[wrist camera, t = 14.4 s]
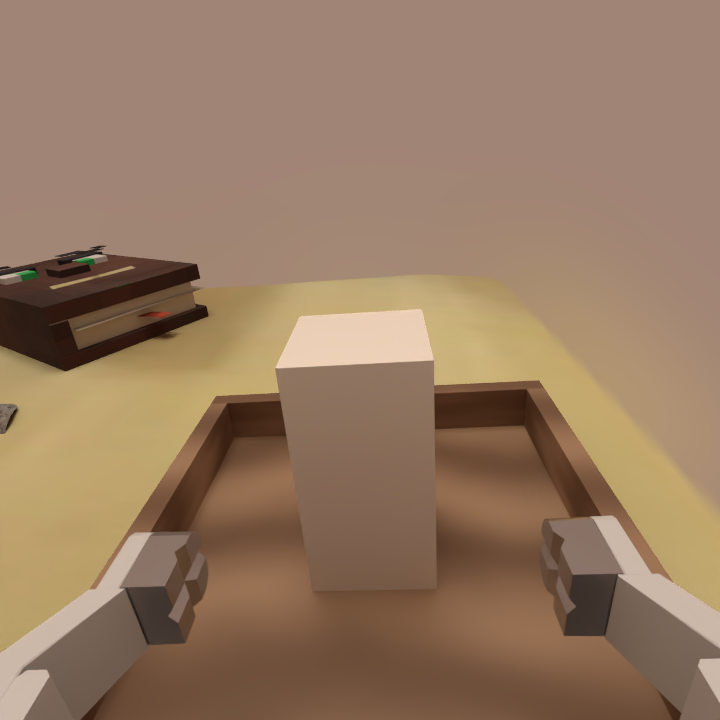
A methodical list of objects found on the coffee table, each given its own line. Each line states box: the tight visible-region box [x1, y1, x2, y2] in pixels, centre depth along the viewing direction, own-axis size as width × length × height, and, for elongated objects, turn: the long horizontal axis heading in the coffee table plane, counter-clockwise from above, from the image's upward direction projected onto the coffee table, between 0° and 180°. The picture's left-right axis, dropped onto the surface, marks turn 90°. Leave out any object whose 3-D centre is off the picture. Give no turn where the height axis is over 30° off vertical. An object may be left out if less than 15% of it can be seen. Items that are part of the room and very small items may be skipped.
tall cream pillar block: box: [275, 309, 437, 591], centre depth 19 cm, size 5×5×10 cm
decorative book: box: [0, 246, 208, 371], centre depth 57 cm, size 19×8×30 cm
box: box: [80, 381, 682, 720], centre depth 21 cm, size 20×20×4 cm
